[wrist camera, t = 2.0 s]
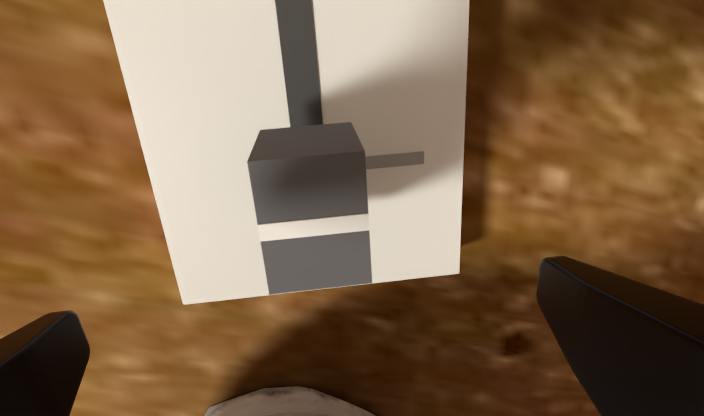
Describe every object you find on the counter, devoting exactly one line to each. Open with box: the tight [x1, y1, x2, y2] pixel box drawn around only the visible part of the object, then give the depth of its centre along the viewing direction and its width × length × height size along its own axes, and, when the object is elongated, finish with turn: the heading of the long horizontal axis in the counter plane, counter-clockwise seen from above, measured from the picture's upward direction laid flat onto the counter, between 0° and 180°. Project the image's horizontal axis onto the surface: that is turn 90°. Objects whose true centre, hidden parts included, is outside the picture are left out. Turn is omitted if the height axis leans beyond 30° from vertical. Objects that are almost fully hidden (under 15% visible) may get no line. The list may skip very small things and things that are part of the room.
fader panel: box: [103, 0, 469, 305], centre depth 16 cm, size 12×21×2 cm, turn 4°
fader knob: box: [247, 122, 372, 295], centre depth 14 cm, size 3×4×5 cm
